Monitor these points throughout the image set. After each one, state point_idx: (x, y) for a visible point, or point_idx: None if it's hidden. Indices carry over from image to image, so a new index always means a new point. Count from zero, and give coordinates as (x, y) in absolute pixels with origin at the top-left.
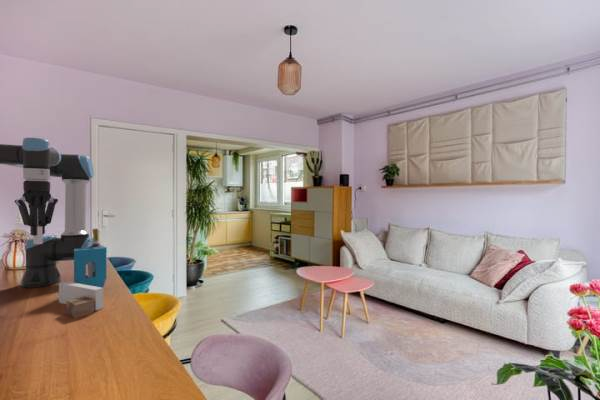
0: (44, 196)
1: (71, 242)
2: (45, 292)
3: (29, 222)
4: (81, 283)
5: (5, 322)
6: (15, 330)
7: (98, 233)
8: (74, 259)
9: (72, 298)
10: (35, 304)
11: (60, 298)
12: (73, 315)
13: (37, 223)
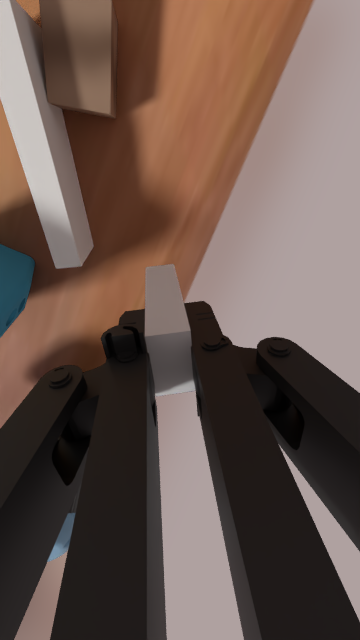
0: None
1: None
2: (86, 355)
3: (291, 362)
4: (13, 270)
5: (225, 206)
6: (246, 108)
7: None
8: None
9: (72, 183)
10: (134, 284)
11: (89, 243)
12: (116, 43)
13: (197, 357)
